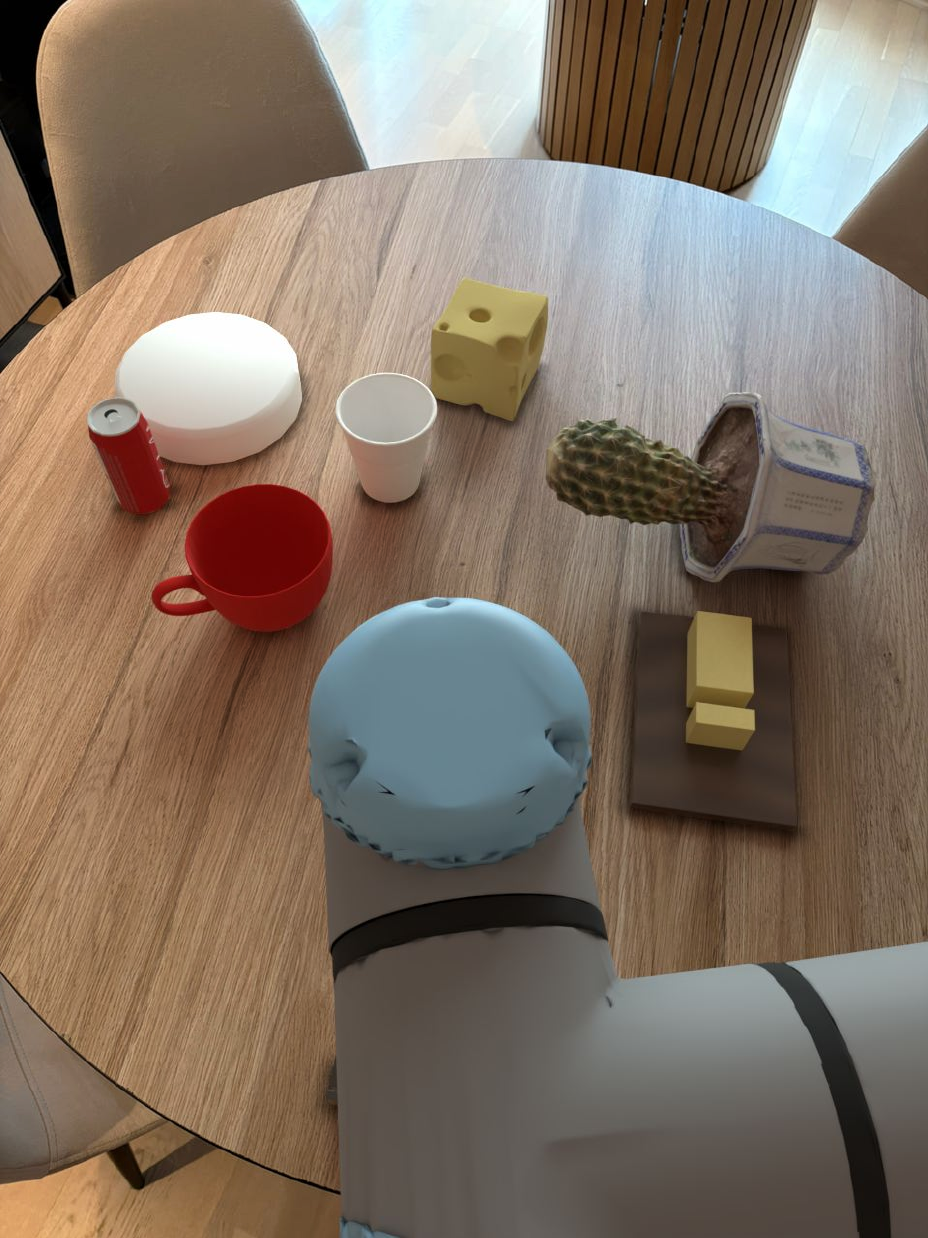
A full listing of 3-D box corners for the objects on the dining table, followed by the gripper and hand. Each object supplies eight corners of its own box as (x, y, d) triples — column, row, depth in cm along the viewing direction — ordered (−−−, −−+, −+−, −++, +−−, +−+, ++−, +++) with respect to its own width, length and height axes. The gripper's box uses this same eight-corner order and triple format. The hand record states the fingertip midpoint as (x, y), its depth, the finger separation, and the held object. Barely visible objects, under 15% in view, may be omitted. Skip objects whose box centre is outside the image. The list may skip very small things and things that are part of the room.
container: (90, 441, 104) (76, 409, 100) (172, 324, 114) (163, 292, 110) (260, 483, 101) (253, 453, 97) (328, 360, 112) (324, 328, 108)
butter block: (741, 714, 86) (754, 693, 83) (686, 707, 86) (696, 685, 83) (740, 640, 90) (751, 617, 87) (687, 633, 91) (697, 610, 87)
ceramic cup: (148, 595, 93) (120, 531, 84) (307, 530, 98) (295, 464, 89) (196, 698, 87) (170, 640, 78) (363, 623, 92) (356, 562, 83)
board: (793, 831, 81) (797, 826, 80) (629, 808, 82) (631, 803, 81) (783, 635, 92) (787, 629, 91) (638, 616, 93) (640, 610, 92)
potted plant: (870, 378, 91) (576, 315, 84) (916, 531, 82) (591, 474, 75) (772, 488, 106) (515, 442, 99) (802, 629, 97) (521, 589, 90)
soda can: (181, 500, 99) (153, 417, 89) (134, 525, 98) (99, 443, 87) (155, 468, 102) (124, 384, 92) (108, 492, 100) (72, 409, 90)
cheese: (514, 424, 107) (521, 355, 98) (425, 398, 109) (424, 328, 100) (543, 365, 112) (552, 294, 104) (458, 341, 114) (460, 270, 106)
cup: (363, 530, 98) (356, 457, 89) (331, 464, 103) (320, 388, 94) (452, 502, 100) (453, 427, 91) (415, 438, 105) (413, 361, 96)
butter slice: (742, 750, 84) (755, 730, 81) (685, 743, 84) (695, 722, 81) (741, 730, 85) (754, 709, 82) (685, 722, 85) (696, 701, 82)
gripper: (409, 607, 44) (416, 791, 62) (264, 1250, 30) (327, 1248, 48) (571, 630, 43) (532, 808, 61) (498, 1294, 30) (475, 1275, 47)
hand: (442, 1002), depth 55 cm, fingers open, 13 cm apart
